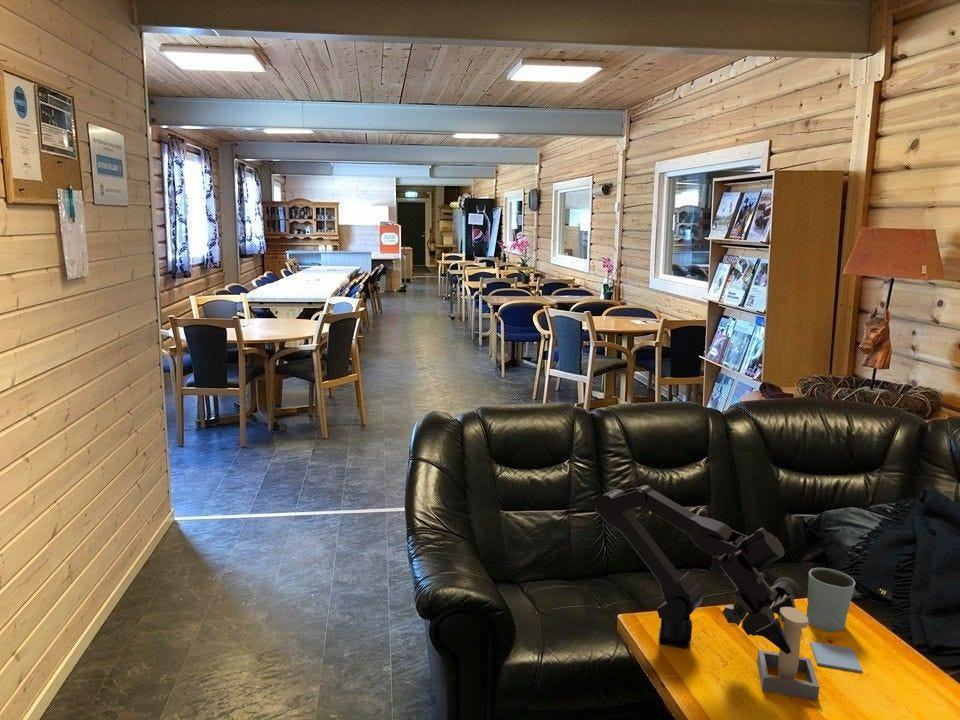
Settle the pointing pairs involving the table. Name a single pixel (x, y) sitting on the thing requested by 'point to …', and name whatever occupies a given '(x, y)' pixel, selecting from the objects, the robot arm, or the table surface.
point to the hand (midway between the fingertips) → (794, 643)
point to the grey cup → (829, 598)
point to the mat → (835, 657)
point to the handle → (791, 641)
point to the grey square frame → (787, 685)
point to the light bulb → (790, 582)
